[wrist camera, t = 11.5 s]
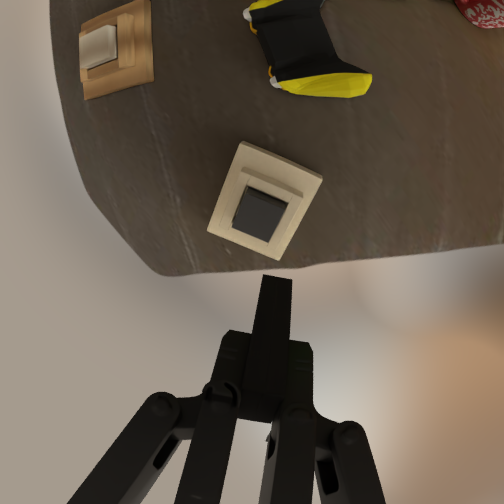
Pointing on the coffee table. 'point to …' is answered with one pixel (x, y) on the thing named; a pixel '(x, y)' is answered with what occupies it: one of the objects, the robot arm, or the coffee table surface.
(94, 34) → the ivory key
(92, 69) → the key block
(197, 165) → the coffee table surface
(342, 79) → the gaming controller
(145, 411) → the robot arm
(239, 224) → the black key
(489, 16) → the mug
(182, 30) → the coffee table surface
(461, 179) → the coffee table surface
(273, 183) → the key block
